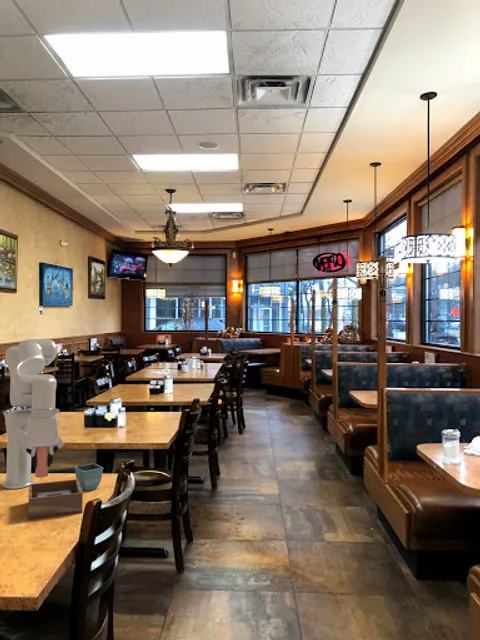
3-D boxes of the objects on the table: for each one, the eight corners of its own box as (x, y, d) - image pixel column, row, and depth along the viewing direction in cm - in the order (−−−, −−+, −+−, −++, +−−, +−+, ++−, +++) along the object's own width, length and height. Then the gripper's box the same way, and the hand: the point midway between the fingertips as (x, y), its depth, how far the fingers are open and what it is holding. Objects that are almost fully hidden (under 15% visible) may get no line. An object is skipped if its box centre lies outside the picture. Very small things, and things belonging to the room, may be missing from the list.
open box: (28, 502, 187) (28, 484, 187) (77, 496, 194) (78, 479, 194) (28, 519, 170) (28, 499, 170) (82, 512, 177) (82, 493, 177)
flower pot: (82, 493, 198) (83, 471, 198) (73, 488, 204) (74, 466, 205) (103, 489, 204) (103, 467, 204) (93, 484, 210) (94, 463, 210)
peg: (35, 474, 169) (36, 439, 169) (47, 473, 170) (48, 439, 171) (35, 478, 165) (36, 442, 165) (48, 476, 167) (49, 441, 167)
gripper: (68, 410, 175) (66, 461, 175) (16, 412, 168) (15, 465, 168) (69, 413, 168) (68, 467, 168) (16, 416, 161) (14, 472, 161)
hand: (41, 466), depth 168 cm, fingers closed on peg, 4 cm apart
